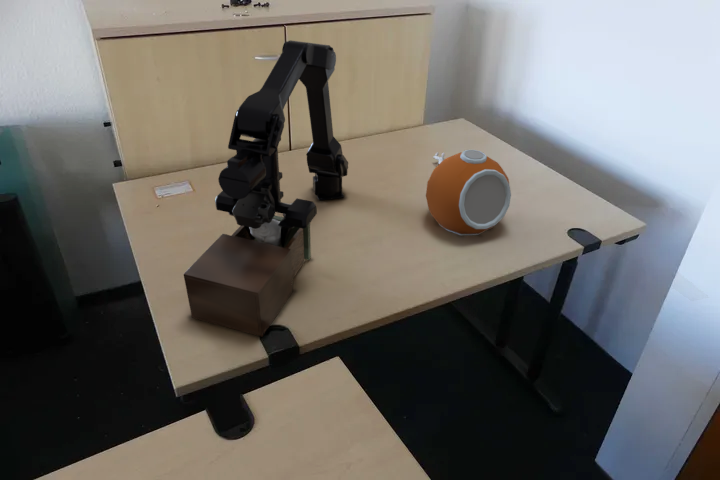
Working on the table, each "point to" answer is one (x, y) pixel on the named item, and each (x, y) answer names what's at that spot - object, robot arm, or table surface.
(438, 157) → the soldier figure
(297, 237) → the drawer
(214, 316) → the cabinet
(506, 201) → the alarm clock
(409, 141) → the table surface
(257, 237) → the white carved sculpture
